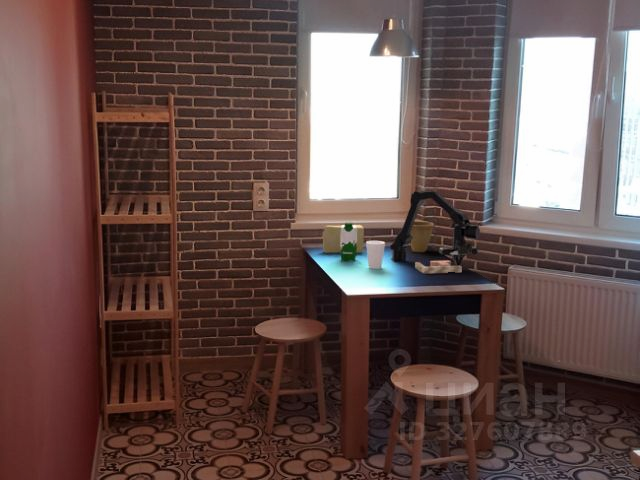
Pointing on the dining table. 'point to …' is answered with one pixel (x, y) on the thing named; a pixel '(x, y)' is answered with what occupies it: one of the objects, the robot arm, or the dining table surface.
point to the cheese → (333, 239)
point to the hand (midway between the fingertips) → (457, 267)
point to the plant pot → (421, 235)
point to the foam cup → (375, 253)
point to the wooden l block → (437, 268)
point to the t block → (440, 263)
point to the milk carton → (348, 242)
